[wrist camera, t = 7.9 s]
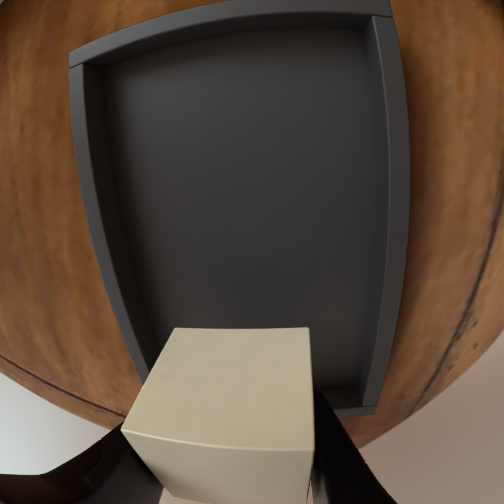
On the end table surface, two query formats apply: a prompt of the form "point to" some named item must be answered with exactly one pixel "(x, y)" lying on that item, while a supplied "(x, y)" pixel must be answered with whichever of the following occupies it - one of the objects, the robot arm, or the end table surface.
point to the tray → (251, 179)
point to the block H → (229, 416)
